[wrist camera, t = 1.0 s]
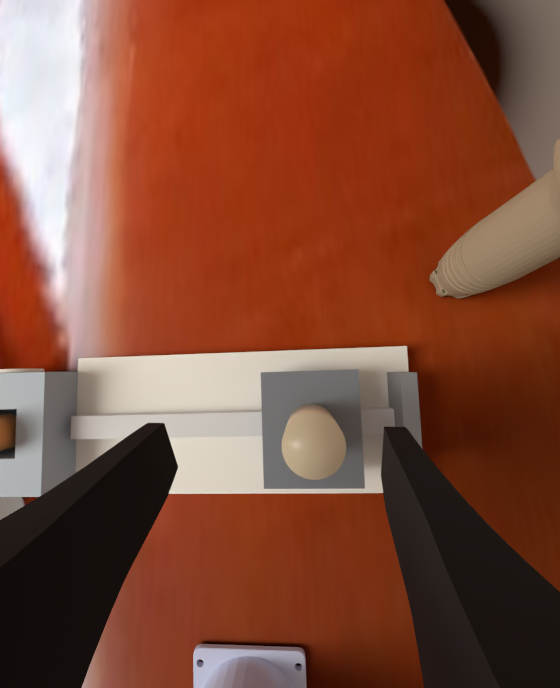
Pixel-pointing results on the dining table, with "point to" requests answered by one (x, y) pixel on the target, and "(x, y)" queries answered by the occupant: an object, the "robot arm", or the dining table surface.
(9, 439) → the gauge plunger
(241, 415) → the rail track
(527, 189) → the handle
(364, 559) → the dining table surface
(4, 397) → the grey block with socket
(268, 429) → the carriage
